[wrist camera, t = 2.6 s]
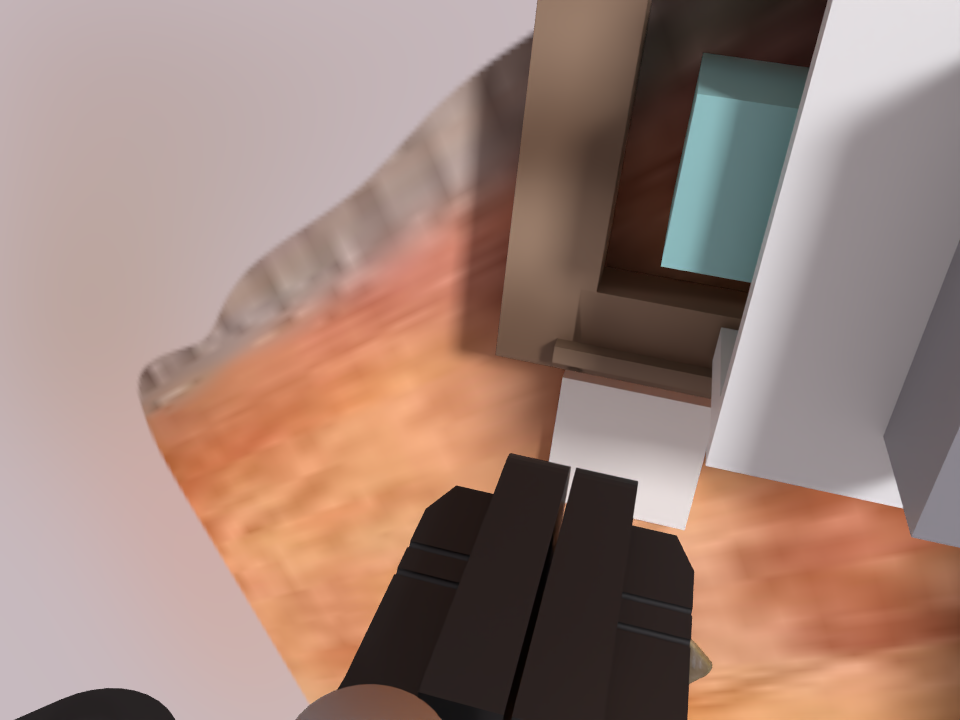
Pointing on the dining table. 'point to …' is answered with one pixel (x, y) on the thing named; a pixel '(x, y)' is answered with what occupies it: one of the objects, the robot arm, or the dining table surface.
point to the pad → (634, 440)
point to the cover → (859, 278)
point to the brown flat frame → (594, 218)
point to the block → (731, 164)
